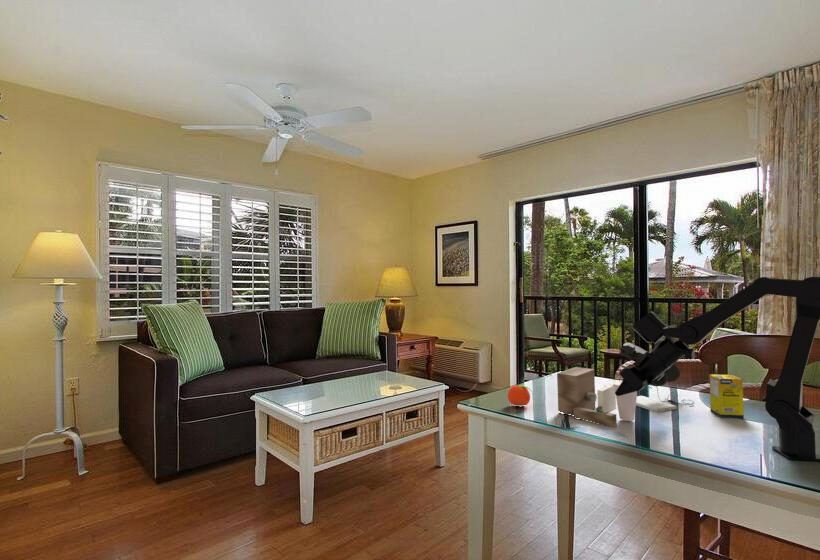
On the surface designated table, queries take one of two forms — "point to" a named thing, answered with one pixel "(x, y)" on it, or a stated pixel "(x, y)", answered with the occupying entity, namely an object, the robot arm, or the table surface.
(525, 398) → the clementine
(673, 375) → the headphones
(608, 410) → the cream flat box
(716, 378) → the supplement box
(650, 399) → the external hard drive
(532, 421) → the table surface
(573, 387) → the brown blocky piece
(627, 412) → the smoothie
